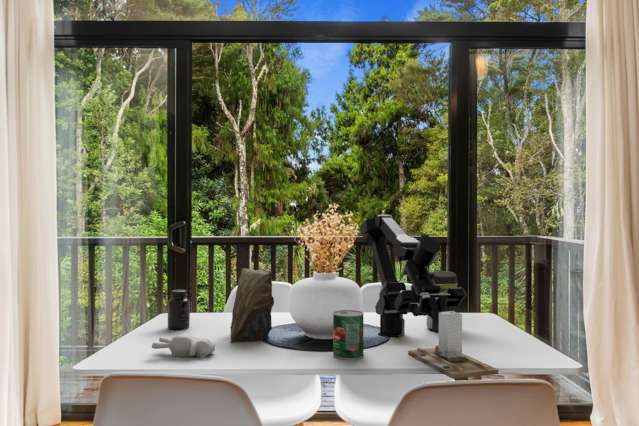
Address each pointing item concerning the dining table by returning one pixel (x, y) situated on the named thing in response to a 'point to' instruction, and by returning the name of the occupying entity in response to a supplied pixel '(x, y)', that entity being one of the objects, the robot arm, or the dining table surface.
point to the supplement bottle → (178, 310)
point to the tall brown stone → (252, 307)
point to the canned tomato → (348, 334)
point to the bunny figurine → (186, 345)
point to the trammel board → (452, 364)
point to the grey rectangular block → (450, 337)
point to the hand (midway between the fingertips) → (442, 326)
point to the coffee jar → (445, 282)
